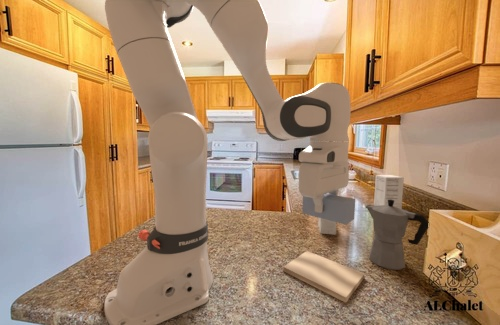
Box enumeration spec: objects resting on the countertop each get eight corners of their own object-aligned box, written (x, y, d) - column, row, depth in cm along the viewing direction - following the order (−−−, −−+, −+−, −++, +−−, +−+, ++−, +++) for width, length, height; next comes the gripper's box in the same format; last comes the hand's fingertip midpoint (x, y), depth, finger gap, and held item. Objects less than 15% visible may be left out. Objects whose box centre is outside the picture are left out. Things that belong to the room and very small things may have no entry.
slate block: (354, 219, 53) (311, 209, 60) (355, 198, 52) (312, 191, 60) (346, 224, 49) (302, 213, 57) (347, 202, 49) (303, 194, 56)
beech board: (345, 302, 46) (346, 297, 46) (283, 271, 57) (283, 266, 57) (364, 278, 55) (364, 273, 55) (306, 254, 66) (306, 250, 66)
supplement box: (402, 210, 111) (404, 177, 109) (384, 210, 111) (386, 177, 109) (389, 205, 121) (392, 174, 119) (373, 204, 120) (375, 174, 119)
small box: (336, 235, 80) (337, 207, 79) (320, 233, 81) (321, 206, 80) (332, 227, 88) (333, 201, 87) (317, 225, 89) (319, 200, 88)
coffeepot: (355, 256, 65) (359, 197, 64) (369, 247, 71) (373, 192, 69) (418, 283, 53) (425, 210, 52) (429, 269, 59) (435, 204, 57)
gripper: (333, 151, 63) (330, 199, 65) (294, 154, 48) (292, 215, 50) (356, 153, 59) (353, 203, 60) (321, 155, 44) (318, 222, 45)
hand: (325, 209), depth 55 cm, fingers closed on slate block, 5 cm apart
